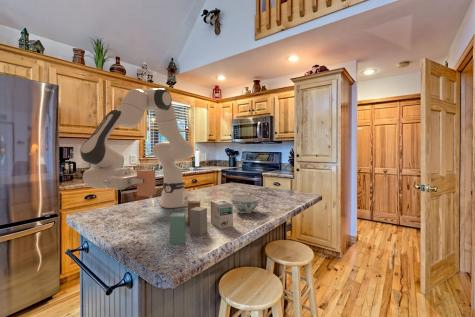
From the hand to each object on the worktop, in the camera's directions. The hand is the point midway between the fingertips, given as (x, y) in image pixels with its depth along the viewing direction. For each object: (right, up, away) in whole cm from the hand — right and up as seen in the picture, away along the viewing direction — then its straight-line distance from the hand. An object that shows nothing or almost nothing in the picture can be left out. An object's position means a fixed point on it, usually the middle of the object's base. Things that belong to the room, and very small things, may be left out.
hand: (148, 180), depth 95 cm
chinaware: (+40, -21, +34) cm, 57 cm away
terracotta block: (-1, -6, 0) cm, 6 cm away
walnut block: (+16, -21, +14) cm, 30 cm away
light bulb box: (+29, -22, +12) cm, 38 cm away
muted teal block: (+14, -22, -7) cm, 27 cm away
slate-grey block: (+20, -22, +2) cm, 30 cm away
